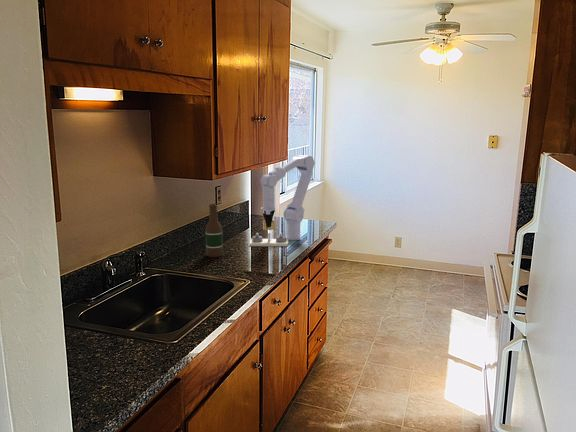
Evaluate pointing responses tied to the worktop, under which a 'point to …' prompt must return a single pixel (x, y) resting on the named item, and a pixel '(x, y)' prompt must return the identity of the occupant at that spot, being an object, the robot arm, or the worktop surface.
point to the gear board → (269, 241)
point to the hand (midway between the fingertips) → (269, 225)
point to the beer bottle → (214, 234)
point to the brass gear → (269, 227)
